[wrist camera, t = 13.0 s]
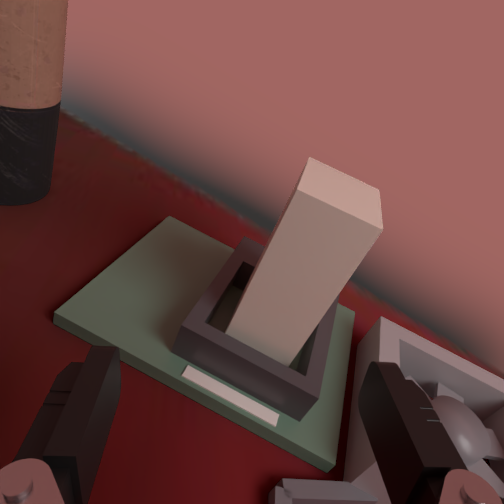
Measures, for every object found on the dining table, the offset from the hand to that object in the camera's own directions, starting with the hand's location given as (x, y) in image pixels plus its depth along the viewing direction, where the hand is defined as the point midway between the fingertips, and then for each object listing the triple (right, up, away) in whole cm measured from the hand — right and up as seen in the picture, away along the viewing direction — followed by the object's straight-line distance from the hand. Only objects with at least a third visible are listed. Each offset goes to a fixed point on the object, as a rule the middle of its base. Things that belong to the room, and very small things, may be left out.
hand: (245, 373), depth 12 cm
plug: (+1, -2, +14) cm, 14 cm away
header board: (-2, -1, +16) cm, 16 cm away
